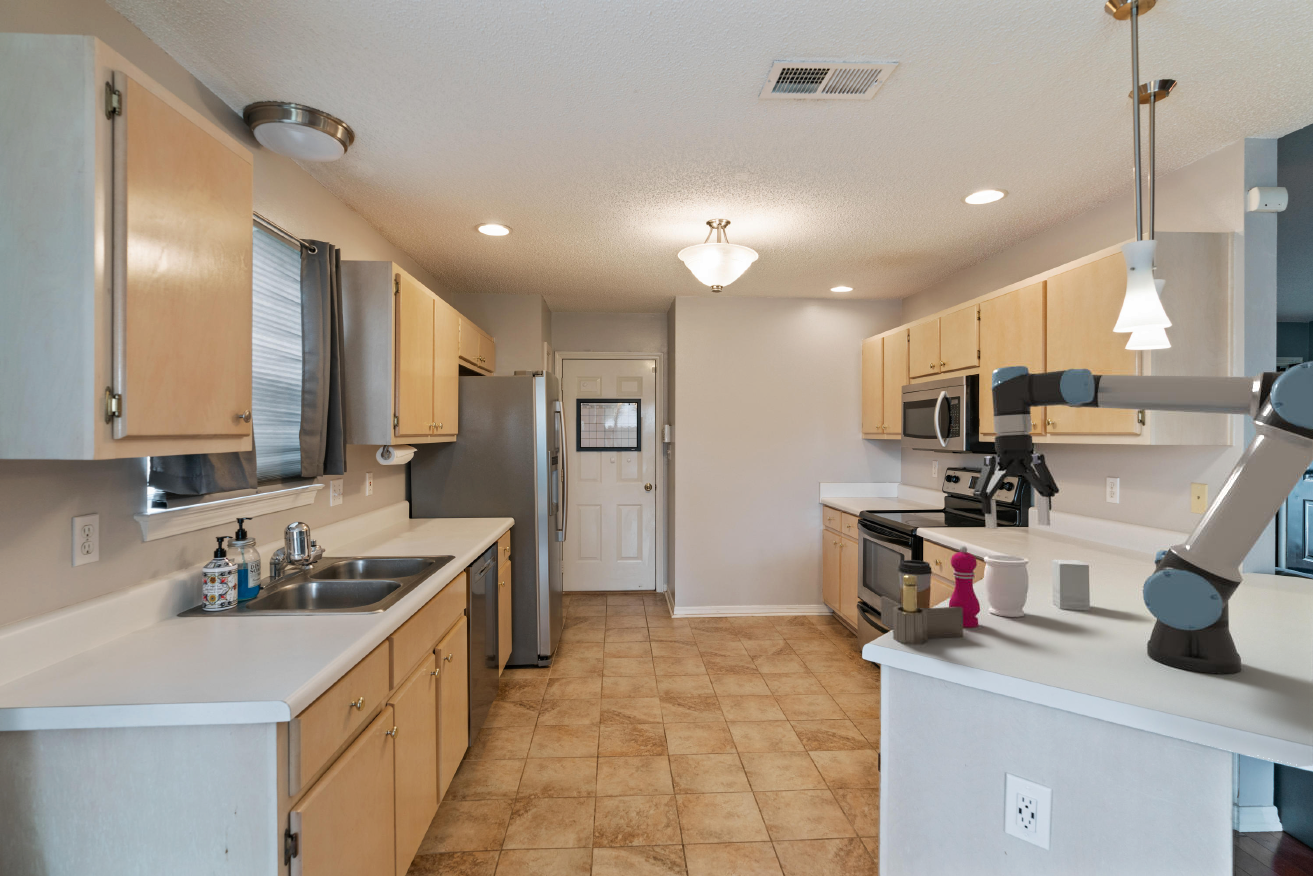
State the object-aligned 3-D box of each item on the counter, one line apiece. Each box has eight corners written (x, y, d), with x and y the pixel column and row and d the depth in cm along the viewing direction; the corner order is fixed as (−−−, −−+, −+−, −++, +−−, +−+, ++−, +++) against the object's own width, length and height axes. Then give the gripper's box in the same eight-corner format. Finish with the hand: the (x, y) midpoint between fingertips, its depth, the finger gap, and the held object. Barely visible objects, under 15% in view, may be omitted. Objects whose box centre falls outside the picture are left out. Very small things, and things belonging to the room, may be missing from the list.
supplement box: (1090, 611, 172) (1089, 564, 172) (1059, 609, 174) (1058, 563, 175) (1082, 604, 179) (1081, 560, 179) (1052, 602, 181) (1051, 558, 182)
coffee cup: (906, 613, 172) (906, 558, 172) (937, 619, 166) (937, 562, 166) (893, 619, 166) (892, 563, 166) (924, 626, 160) (924, 567, 160)
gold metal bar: (919, 640, 149) (919, 577, 149) (907, 641, 148) (907, 578, 148) (912, 636, 152) (912, 574, 152) (901, 637, 151) (900, 575, 151)
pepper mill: (984, 623, 162) (982, 545, 162) (975, 630, 157) (974, 549, 157) (954, 618, 167) (953, 543, 167) (945, 624, 161) (943, 546, 162)
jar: (1018, 608, 175) (1017, 554, 176) (1036, 619, 165) (1035, 562, 165) (978, 608, 177) (977, 554, 177) (994, 618, 166) (993, 561, 166)
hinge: (971, 641, 148) (971, 611, 148) (903, 645, 146) (903, 614, 146) (930, 620, 165) (930, 594, 165) (869, 624, 163) (869, 597, 163)
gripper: (1048, 433, 151) (1053, 522, 150) (953, 436, 147) (958, 527, 146) (1073, 431, 143) (1079, 525, 143) (974, 435, 139) (979, 531, 139)
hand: (1018, 526), depth 144 cm, fingers open, 13 cm apart
